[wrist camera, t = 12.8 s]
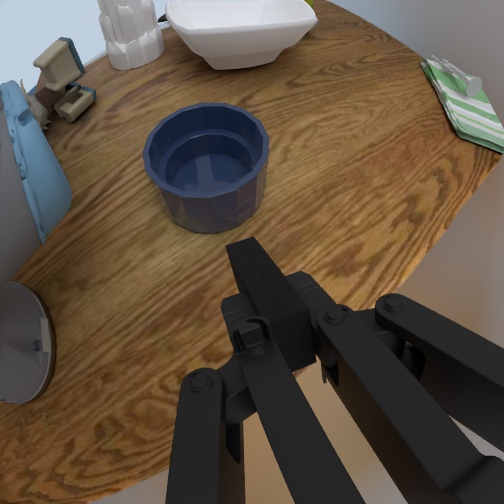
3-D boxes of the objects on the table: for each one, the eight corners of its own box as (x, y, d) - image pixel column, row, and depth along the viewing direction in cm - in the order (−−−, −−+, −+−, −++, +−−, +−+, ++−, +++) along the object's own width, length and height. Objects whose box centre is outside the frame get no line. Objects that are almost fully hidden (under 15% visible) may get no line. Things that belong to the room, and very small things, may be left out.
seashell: (52, 215, 35) (5, 128, 37) (96, 177, 38) (40, 100, 40) (20, 180, 26) (-16, 93, 27) (76, 134, 28) (24, 62, 30)
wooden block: (46, 109, 35) (51, 84, 37) (64, 96, 35) (69, 72, 37) (32, 95, 31) (40, 71, 33) (51, 81, 31) (57, 58, 33)
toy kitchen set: (3, 56, 27) (48, 20, 30) (34, 106, 41) (71, 71, 44) (40, 62, 24) (99, 18, 27) (77, 127, 38) (122, 85, 41)
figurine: (472, 75, 37) (433, 46, 42) (463, 94, 41) (426, 65, 47) (484, 79, 38) (447, 51, 43) (475, 98, 42) (440, 68, 48)
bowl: (322, 82, 42) (336, 24, 31) (184, 104, 39) (172, 39, 28) (274, 25, 49) (278, -20, 38) (168, 41, 46) (159, -6, 35)
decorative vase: (170, 57, 44) (151, -61, 21) (114, 77, 42) (78, -38, 19) (158, 36, 47) (141, -63, 24) (109, 54, 46) (80, -43, 22)
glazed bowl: (202, 256, 31) (190, 224, 24) (143, 185, 34) (123, 144, 27) (285, 192, 34) (295, 148, 27) (220, 134, 37) (216, 88, 30)
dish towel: (453, 137, 40) (460, 127, 37) (416, 63, 48) (420, 54, 45) (514, 159, 39) (521, 151, 37) (474, 85, 47) (479, 78, 45)
